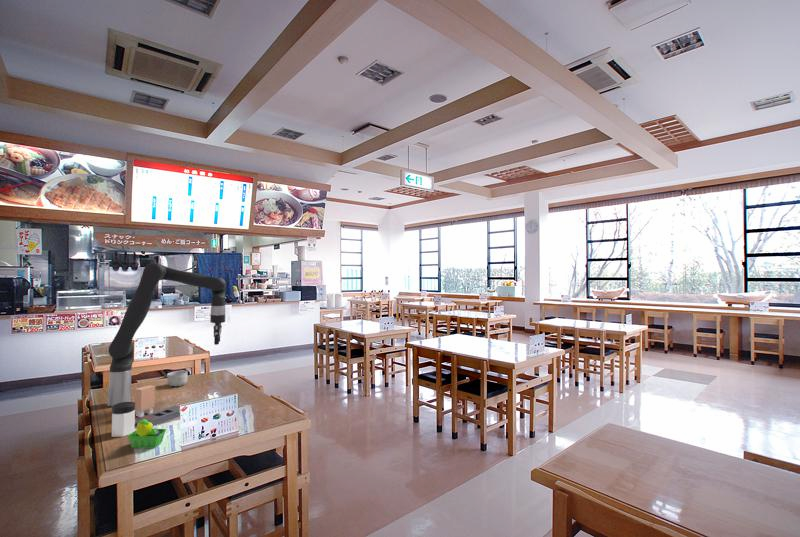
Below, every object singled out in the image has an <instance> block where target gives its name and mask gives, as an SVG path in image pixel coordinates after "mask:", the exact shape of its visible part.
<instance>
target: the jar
mask: <svg viewBox="0 0 800 537" xmlns="http://www.w3.org/2000/svg"><path fill="white" fill-rule="evenodd" d="M135 425H136V410H135V401H131V402H122V403H117V404H115V405H113V406H111V437H115V438H117V437H118V438H119V437H121V438H122V437H126V436H128V435H129V434H131V433H133V432H134V431H135Z"/></svg>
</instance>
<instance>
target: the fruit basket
mask: <svg viewBox="0 0 800 537" xmlns="http://www.w3.org/2000/svg"><path fill="white" fill-rule="evenodd" d="M153 427H154V426H153V424H152V423H150V422H148V421H147V420H145V419H143V420H142V421H140V422H139V423H138V424H137V425H136V430H134V432H133V433H131V434H129V435H127V438H128V439H129V444H130V446H131V449H132V448H133V449H134V448H135V449H136V448H138V449H155V448H157V447H158V446H159V445H161V444H162V443H163V440H164V438H165V433H166V431H167V429H166V428H153ZM161 442H162V443H161ZM157 445H158V446H157ZM156 446H157V447H156ZM149 447H151V448H149ZM154 447H155V448H154Z"/></svg>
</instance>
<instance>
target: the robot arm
mask: <svg viewBox="0 0 800 537" xmlns="http://www.w3.org/2000/svg"><path fill="white" fill-rule="evenodd" d="M159 281H172V282H176V283H177V282H178V283H182V284H184V285H188V286H193V287H197V288H198V287H199V288H205V289H207V290H212V296H211V300H210V301H211V304H210V305H211V306H210V323H211V324H214V325H213V337H214V341H213V342H214V345H216V346H217V345H219V344H220V342H221V334H222V328H223V327H222V326H223V325H222V324H223V323H225V322H226V290H227V283H226V282H227V281H225V279H224V278H222V277H215V276H208V275H205V274H202V273H197V272H191V271H184V270H178V269H174V268H173V267H172V268H171V267H168V266H166V265H163V264H161V263H158V262H151V263H148V264H147V265H146V266H144V269H143V271H142V274H141V278H140V281H139V283H138V286H137V288H136V290H135V292H134V294H133V295H132V298H131V300H130V301H129V303H128V306H127V308H126V311H125V313H124V315H123V318H122V321H121V323H120V327H119V329H118V331H117V333H116V334H115V336H114V338H113V339H112V341H111V343H110V344H109V346H108V354H109V356H110V357H111V362H110V363H111V364H110V366H109V381H108V382H109V383H108V384H109V386H108V387H107V402H106V403H107V404H106V406H107V407H112V406H113V405H115V404H117V403H122V402H132V400H131V399H132V396H131V395H132V369H133V368H132V366H133V362H134V352H135V351H134V349H135V348H134V343H133V338H134V336H135V334H136V333H137V331H138V329H139V328H140V327H141V325H142V323H143V322H144V320H145V318H146V317H147V314H148V312H149V311H150V308H151V305H152V300H153V294H154V291H155V288H156V287H157V285H158V283H159Z"/></svg>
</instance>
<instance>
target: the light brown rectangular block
mask: <svg viewBox="0 0 800 537" xmlns="http://www.w3.org/2000/svg"><path fill="white" fill-rule="evenodd" d="M134 392H135V393H134V395H135V396H134V403H135V417H136V416H138V417H137V418H140V417H143V416H145V414H146V413H147V415H148V414H151V413H154V408H155V406H156V402H155V401H156V385H150V384H148V385H144V386H141V387H137V388H135V391H134Z"/></svg>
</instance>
